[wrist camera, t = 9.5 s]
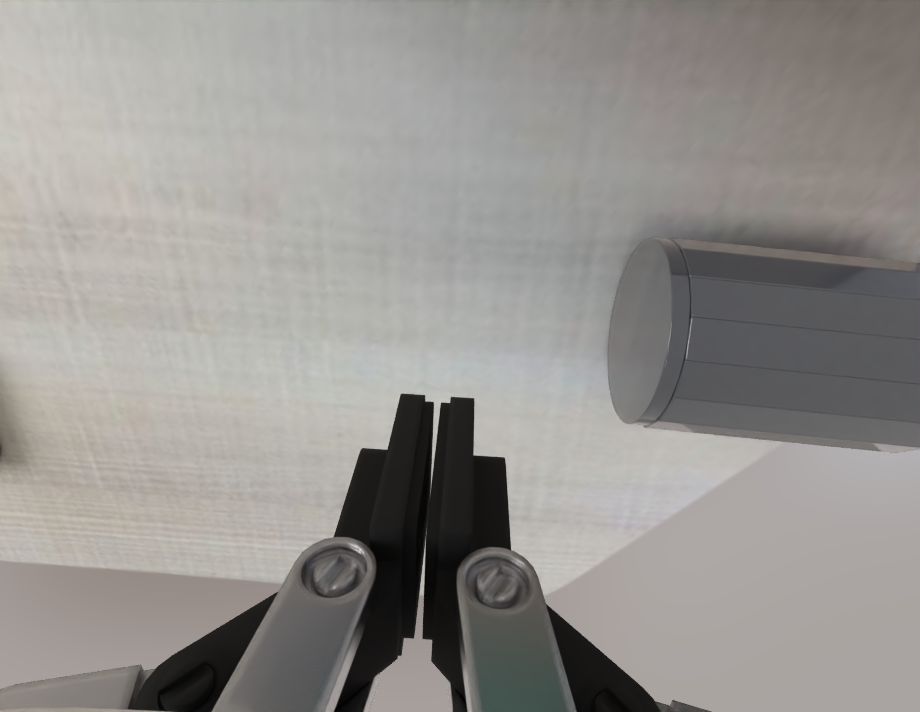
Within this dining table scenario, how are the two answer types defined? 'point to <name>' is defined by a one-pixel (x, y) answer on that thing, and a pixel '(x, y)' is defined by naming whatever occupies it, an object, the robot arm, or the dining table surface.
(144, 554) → the dining table surface
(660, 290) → the cup
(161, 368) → the dining table surface
